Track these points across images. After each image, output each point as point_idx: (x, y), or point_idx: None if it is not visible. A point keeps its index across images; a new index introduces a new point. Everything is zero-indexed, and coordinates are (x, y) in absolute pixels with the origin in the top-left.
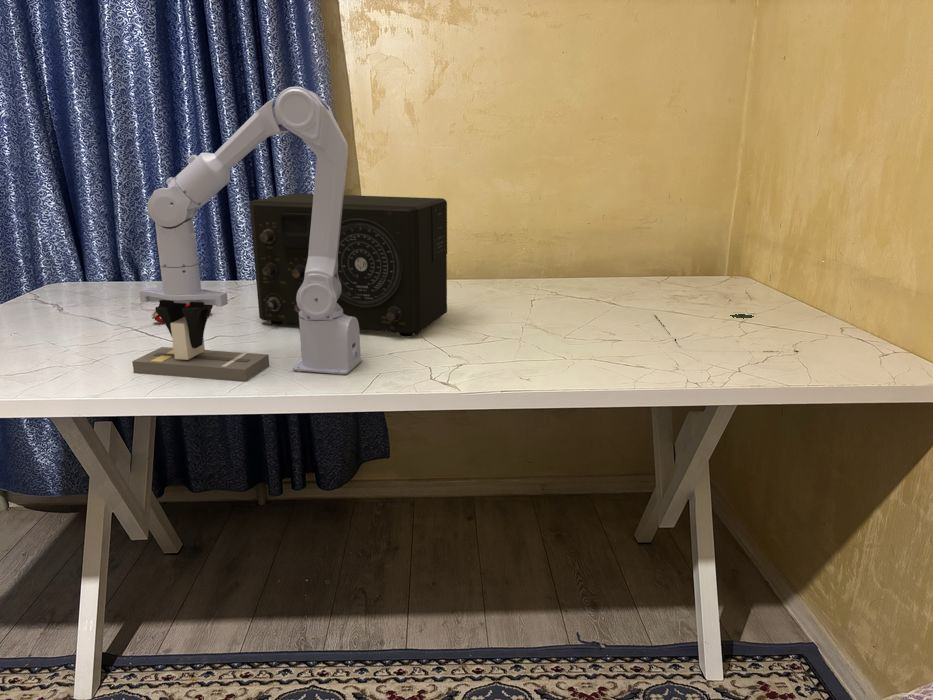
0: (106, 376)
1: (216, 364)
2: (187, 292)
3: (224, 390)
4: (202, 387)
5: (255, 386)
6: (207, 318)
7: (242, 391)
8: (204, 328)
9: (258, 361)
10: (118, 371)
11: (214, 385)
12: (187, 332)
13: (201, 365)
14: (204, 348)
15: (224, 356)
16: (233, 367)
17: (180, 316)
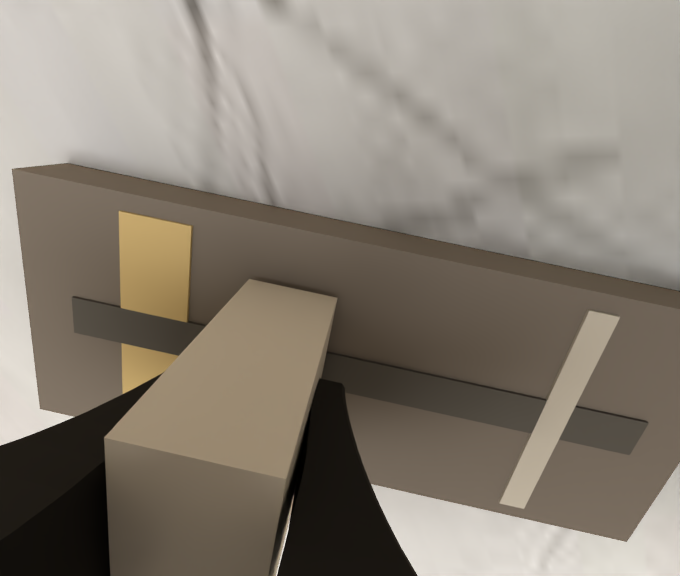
0: (10, 407)
1: (465, 471)
2: None
3: (520, 557)
4: (428, 527)
5: (641, 534)
6: (398, 545)
7: (591, 570)
8: (360, 461)
9: None
10: (8, 356)
11: (469, 514)
12: (275, 571)
13: (395, 481)
14: (335, 304)
15: (478, 359)
16: (563, 513)
17: (83, 553)
